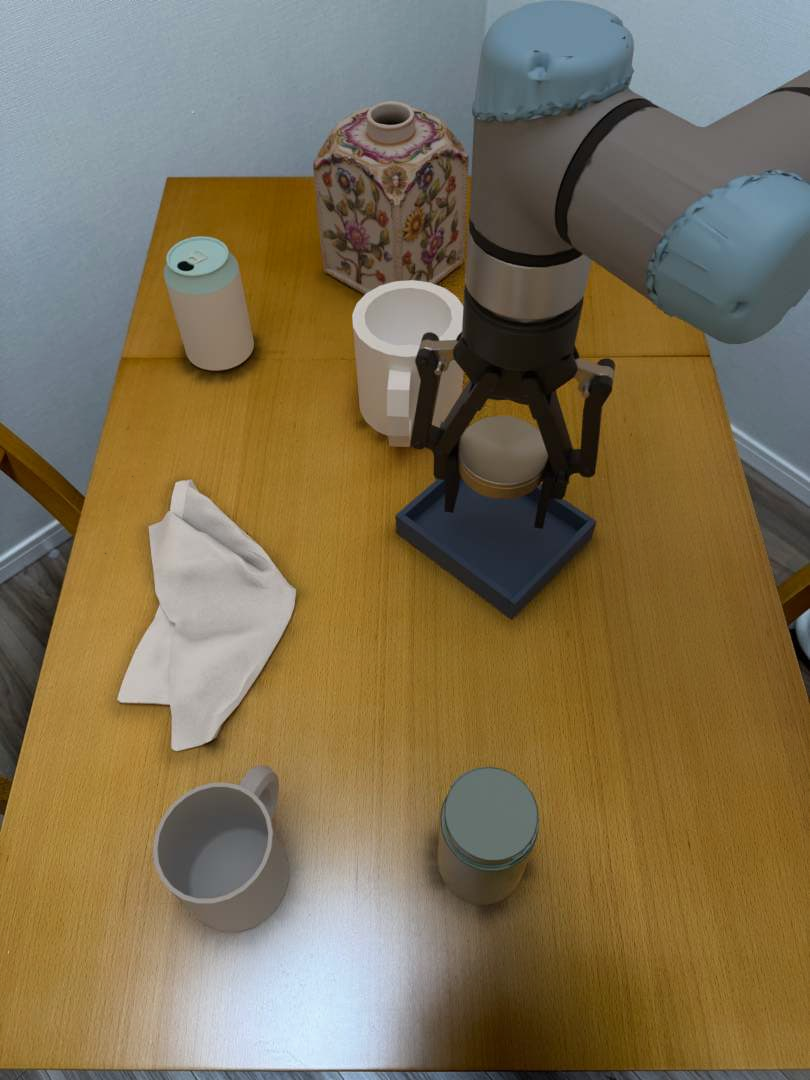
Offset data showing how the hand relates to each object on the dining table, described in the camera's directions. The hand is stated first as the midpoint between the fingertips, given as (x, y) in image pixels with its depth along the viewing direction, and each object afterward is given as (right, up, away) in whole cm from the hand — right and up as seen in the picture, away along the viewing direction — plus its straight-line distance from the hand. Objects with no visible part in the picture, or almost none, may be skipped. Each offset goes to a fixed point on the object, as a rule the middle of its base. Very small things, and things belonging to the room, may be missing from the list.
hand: (496, 507), depth 72 cm
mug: (-8, +10, +12) cm, 17 cm away
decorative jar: (-9, +28, +25) cm, 38 cm away
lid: (0, +4, -6) cm, 7 cm away
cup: (-19, -25, -12) cm, 34 cm away
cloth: (-24, -8, 0) cm, 25 cm away
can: (-27, +17, +17) cm, 36 cm away
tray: (0, -2, +3) cm, 4 cm away
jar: (-2, -25, -13) cm, 28 cm away
